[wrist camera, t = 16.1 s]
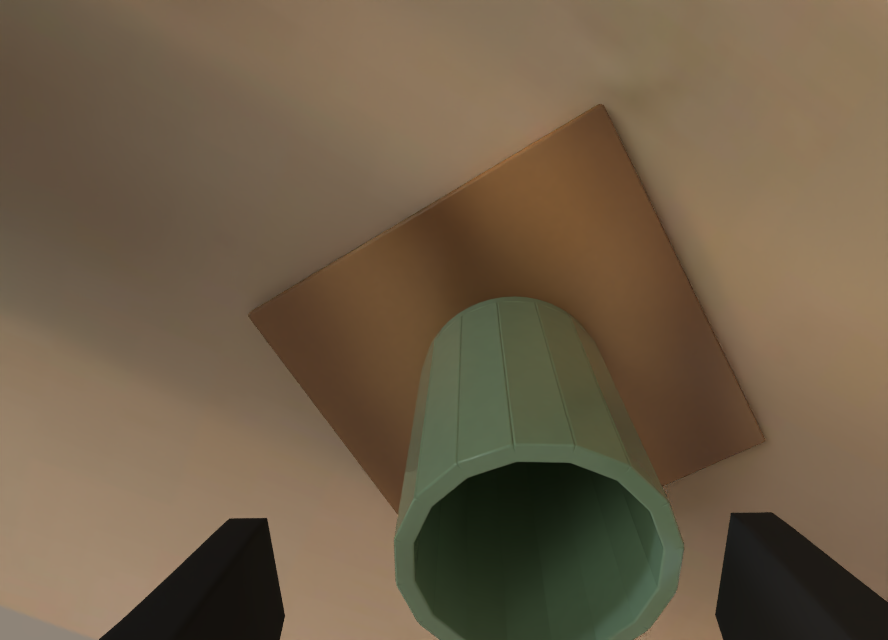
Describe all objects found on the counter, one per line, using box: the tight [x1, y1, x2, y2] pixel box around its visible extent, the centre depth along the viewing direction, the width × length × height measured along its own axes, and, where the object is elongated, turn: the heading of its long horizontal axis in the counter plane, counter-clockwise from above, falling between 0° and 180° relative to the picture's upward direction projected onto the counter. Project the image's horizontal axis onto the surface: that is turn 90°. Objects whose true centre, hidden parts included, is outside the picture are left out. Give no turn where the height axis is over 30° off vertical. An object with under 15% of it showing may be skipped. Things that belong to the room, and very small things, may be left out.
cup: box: [394, 296, 684, 640], centre depth 16 cm, size 6×6×8 cm
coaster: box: [248, 104, 765, 514], centre depth 20 cm, size 12×12×1 cm
